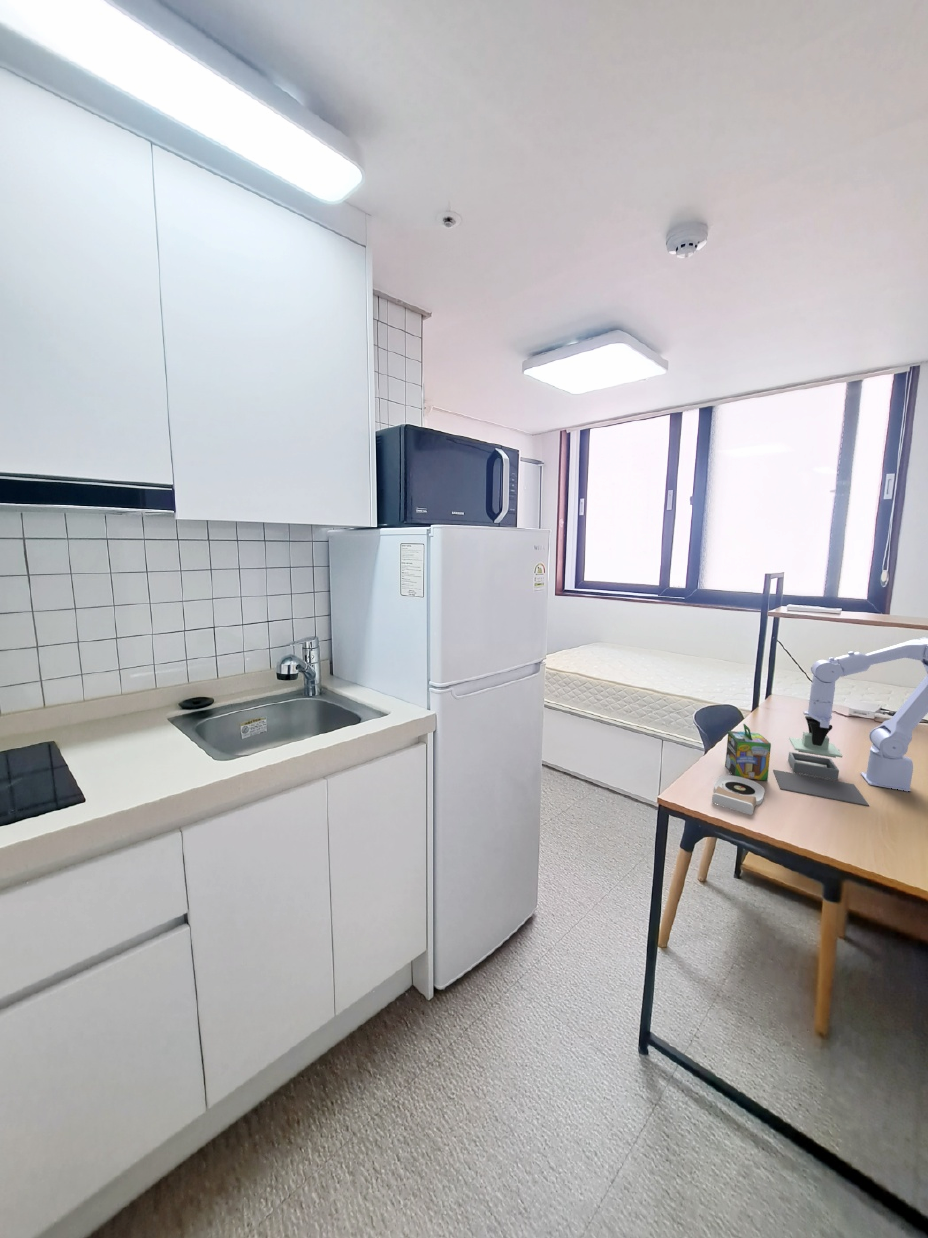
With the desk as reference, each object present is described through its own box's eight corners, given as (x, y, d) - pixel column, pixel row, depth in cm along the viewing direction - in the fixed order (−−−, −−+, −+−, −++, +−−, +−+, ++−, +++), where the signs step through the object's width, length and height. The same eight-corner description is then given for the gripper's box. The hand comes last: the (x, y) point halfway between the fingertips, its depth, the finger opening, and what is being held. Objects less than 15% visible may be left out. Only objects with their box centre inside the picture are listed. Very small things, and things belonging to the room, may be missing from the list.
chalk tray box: (829, 769, 150) (830, 758, 150) (837, 781, 142) (839, 770, 142) (787, 762, 155) (789, 751, 154) (793, 773, 147) (794, 762, 146)
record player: (707, 792, 128) (721, 766, 144) (706, 802, 128) (720, 776, 144) (758, 807, 121) (767, 778, 137) (757, 818, 121) (766, 789, 137)
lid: (833, 748, 150) (835, 733, 149) (841, 760, 141) (844, 744, 140) (788, 741, 154) (790, 726, 154) (794, 752, 146) (796, 737, 145)
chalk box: (768, 782, 140) (774, 733, 138) (733, 778, 142) (739, 730, 140) (756, 768, 149) (761, 722, 147) (723, 764, 151) (728, 719, 149)
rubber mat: (853, 785, 139) (854, 784, 139) (869, 806, 128) (869, 805, 128) (773, 770, 148) (773, 769, 148) (780, 789, 136) (780, 788, 136)
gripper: (800, 691, 153) (795, 732, 155) (810, 704, 140) (805, 749, 142) (827, 695, 151) (821, 736, 152) (840, 708, 137) (834, 753, 139)
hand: (815, 742), depth 147 cm, fingers closed on lid, 3 cm apart
